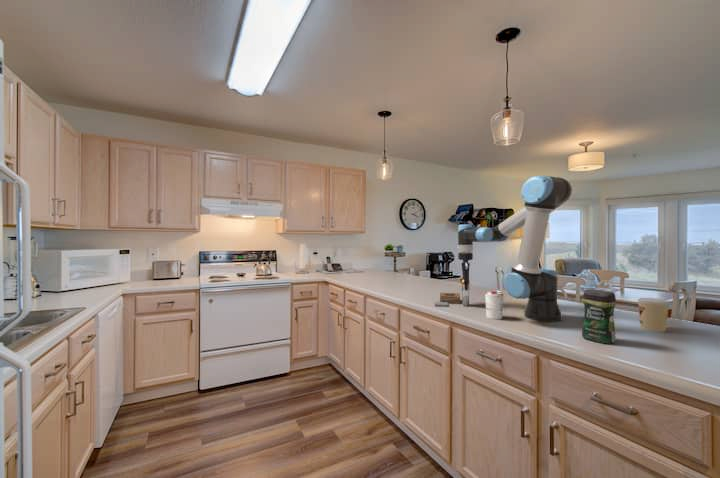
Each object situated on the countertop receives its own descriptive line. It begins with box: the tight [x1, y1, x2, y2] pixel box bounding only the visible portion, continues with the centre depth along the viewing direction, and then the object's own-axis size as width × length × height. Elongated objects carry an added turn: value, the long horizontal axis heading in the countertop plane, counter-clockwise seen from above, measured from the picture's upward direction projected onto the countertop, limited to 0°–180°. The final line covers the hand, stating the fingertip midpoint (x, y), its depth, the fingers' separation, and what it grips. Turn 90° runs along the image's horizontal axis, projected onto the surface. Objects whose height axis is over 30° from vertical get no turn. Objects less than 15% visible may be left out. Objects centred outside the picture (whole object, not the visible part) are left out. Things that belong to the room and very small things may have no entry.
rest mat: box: [434, 301, 449, 308], centre depth 176 cm, size 7×7×1 cm
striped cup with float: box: [484, 290, 505, 321], centre depth 149 cm, size 10×8×12 cm
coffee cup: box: [637, 297, 670, 333], centre depth 130 cm, size 9×9×12 cm
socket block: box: [439, 292, 461, 305], centre depth 184 cm, size 11×11×4 cm
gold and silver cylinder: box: [461, 278, 471, 307], centre depth 174 cm, size 4×4×14 cm
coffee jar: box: [581, 288, 617, 344], centre depth 117 cm, size 10×8×19 cm
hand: (465, 294), depth 174 cm, fingers closed on gold and silver cylinder, 4 cm apart
